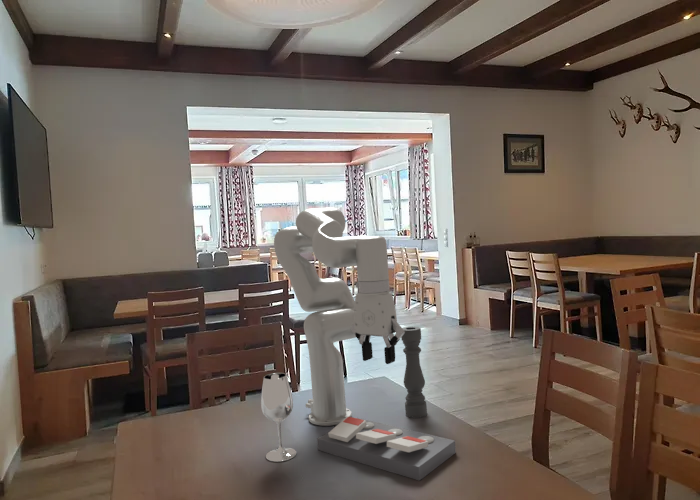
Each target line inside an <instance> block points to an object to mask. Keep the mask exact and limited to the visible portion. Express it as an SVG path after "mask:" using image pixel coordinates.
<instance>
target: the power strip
mask: <svg viewBox="0 0 700 500" xmlns="http://www.w3.org/2000/svg"><path fill="white" fill-rule="evenodd" d="M357 419H362V420H366V423H367V425H366V426H365V427H364V428H363V429H362V430H361V431H359V432H358V433H360V432H365V431H369V430H374V429H380V430H385V431H389V432H393V433H395V434H396V439H398V438H402V437H406V436H409V437H414V438H418V439H422V440H426V441H428V447H426V448H422V449H419V450H416V451H412V452H405V451H401V450H398V449H394V448H390V447H387V441H385V442H381V443H377V444H375V443H371V442H367V441H364V440H360V439H356V435H355V436H354V437H353V438H352V439H351V440H349V441H348V442H345V441H341V440H337V439H334V438H330V437H329V435H328V433H329V432H327V433H325V434H323V435H321V436H319V437H317V438H316V439H317V441H316V442H317V451H320V452H324V453H326V454H329V455H333V456H337V457H339V458H343V459H346V460H348V461H349V460H350V461H353V462H355V463H359V464H363V465H366V466H370V467H373V468H377V469H379V470H383V471H386V472H389V473H393V474H396V475H400V476H403V477H406V478H410V479H412V480H416V481H422V479H424V478H425V477H426V476H428V475H429V474H431V472H433V471H434V470H436V468H438V467H440V466H441V465H442V464H443V463H445V462H446V461H448V460H449V458H451V457H452V456H454V455H455V454H456V453H457V451H456V440H454V439H450V438H446V437H443V436H436V435H432V434H429V433H426V432H425V433H424V432H420V431H416V430H412V429H407V428H403V427H399V426H395V425H390V424H386V423H381V422H378V421H377V422H376V421H374V420H373V421H372V420H369V419H366V418H365V419H364V418H360V417H357ZM393 440H394V439H393Z"/></svg>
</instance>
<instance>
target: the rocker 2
mask: <svg viewBox="0 0 700 500" xmlns="http://www.w3.org/2000/svg"><path fill="white" fill-rule="evenodd" d="M356 439H360V440H364V441H367V442H371V443H375V444H377V443H381V442H385V441H389V440H393V439H396V434H395V433H393V432H389V431H385V430H380V429H374V430H369V431H365V432H360V433H356Z"/></svg>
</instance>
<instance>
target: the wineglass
mask: <svg viewBox="0 0 700 500" xmlns="http://www.w3.org/2000/svg"><path fill="white" fill-rule="evenodd" d="M260 399H261V401H260V405H261V406H260V407H261V411H262V414H263V415H264V416H265V418H266V419H268V420H269V421H271V422H275V423H276V427H277V435H278V448H274V449H271V450H270V451H269V452H267V453H266V454H265V459H266V460H268V461H270V462H275V463H279V462H285V461H289V460H291V459H294V457H295V456H297V451H296V450H295V448H291V447H283V443H282V441H283V440H282V427H281V426H282V422H283V421H284V420H286V419H287V418H288V417H289V416H290V415H291V413H292V412H293V408H294V398H293V394H292V389H291V387H290V382H289V379H288V377H287V374H286V373H284V372H274V373H268V374H266V375H265V376H263V381H262V389H261V398H260Z"/></svg>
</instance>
